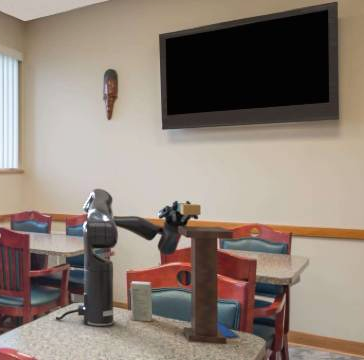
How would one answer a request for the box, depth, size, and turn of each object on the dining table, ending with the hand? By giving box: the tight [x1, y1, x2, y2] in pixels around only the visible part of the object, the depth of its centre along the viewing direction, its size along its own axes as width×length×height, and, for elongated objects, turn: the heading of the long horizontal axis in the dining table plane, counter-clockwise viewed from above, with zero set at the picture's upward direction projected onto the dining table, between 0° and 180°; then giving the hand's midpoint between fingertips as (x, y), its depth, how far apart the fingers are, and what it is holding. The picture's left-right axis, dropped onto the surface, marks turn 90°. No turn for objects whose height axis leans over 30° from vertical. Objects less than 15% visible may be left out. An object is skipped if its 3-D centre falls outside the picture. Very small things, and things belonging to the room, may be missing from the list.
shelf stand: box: [178, 225, 234, 344], centre depth 144 cm, size 12×14×32 cm
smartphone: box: [218, 321, 238, 339], centre depth 152 cm, size 7×1×15 cm
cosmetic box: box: [130, 280, 153, 322], centre depth 163 cm, size 6×4×12 cm
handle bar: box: [176, 202, 202, 216], centre depth 162 cm, size 5×22×3 cm, turn 167°
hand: (182, 203), depth 167 cm, fingers closed on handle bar, 3 cm apart
